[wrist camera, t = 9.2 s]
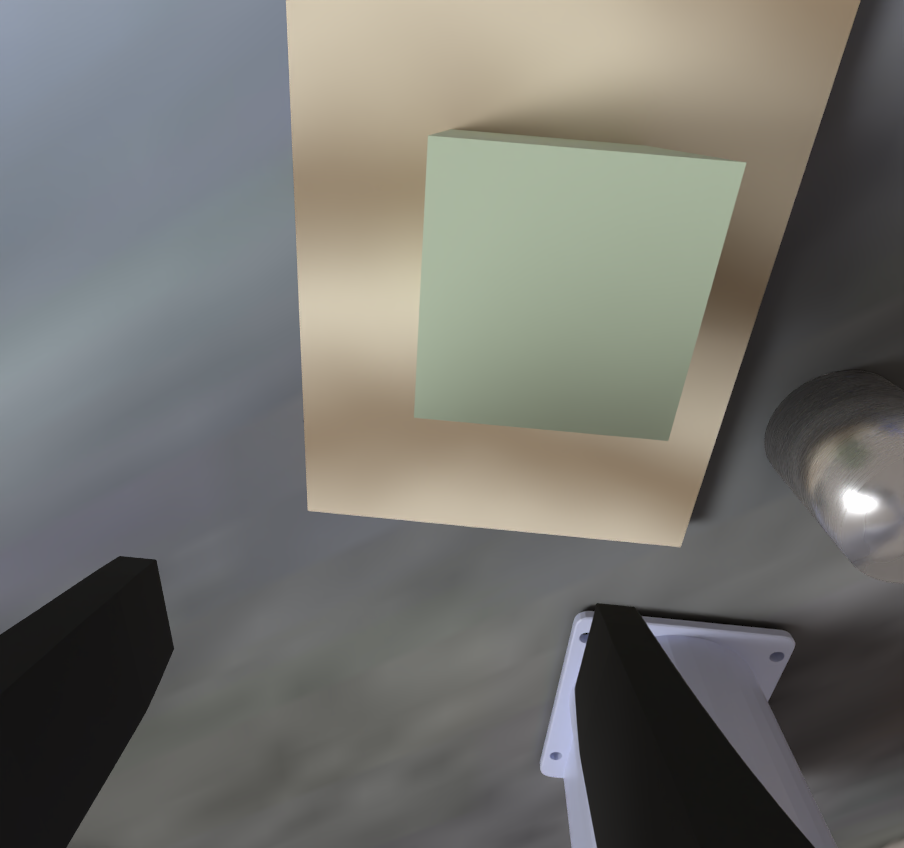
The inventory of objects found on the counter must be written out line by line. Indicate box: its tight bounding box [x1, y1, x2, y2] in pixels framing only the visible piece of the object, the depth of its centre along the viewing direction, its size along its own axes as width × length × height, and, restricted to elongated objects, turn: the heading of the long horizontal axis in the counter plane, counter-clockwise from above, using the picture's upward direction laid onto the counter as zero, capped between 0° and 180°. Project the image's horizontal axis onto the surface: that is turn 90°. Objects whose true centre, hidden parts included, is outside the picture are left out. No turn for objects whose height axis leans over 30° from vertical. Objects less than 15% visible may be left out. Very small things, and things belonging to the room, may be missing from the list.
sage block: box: [414, 129, 746, 441], centre depth 12 cm, size 4×4×6 cm
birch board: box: [286, 0, 861, 547], centre depth 15 cm, size 18×12×1 cm, turn 176°
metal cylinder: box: [765, 370, 904, 583], centre depth 16 cm, size 4×4×4 cm
